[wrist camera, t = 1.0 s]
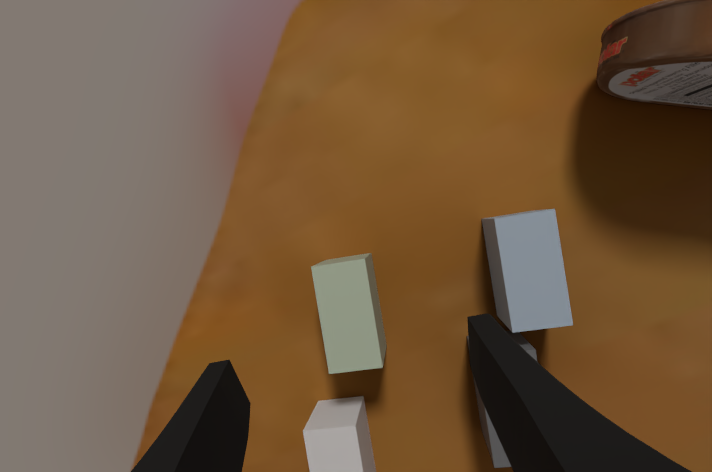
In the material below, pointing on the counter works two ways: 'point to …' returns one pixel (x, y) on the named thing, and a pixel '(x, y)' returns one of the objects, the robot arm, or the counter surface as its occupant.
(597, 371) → the counter surface
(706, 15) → the tin
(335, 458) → the grey brick
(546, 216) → the blue brick
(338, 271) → the sage brick
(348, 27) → the counter surface
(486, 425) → the charcoal brick
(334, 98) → the counter surface
